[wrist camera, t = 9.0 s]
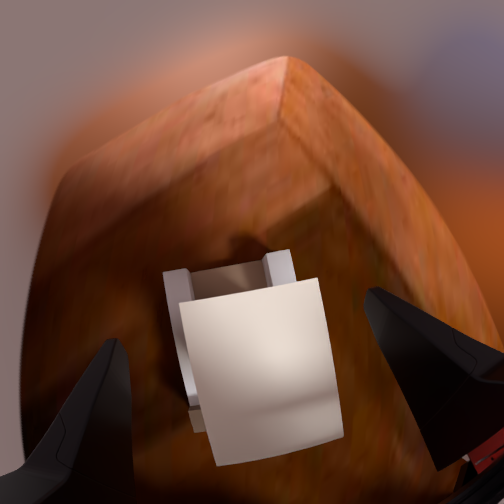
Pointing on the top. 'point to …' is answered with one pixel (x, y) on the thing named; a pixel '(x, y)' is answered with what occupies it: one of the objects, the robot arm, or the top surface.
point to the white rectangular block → (263, 371)
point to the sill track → (214, 285)
